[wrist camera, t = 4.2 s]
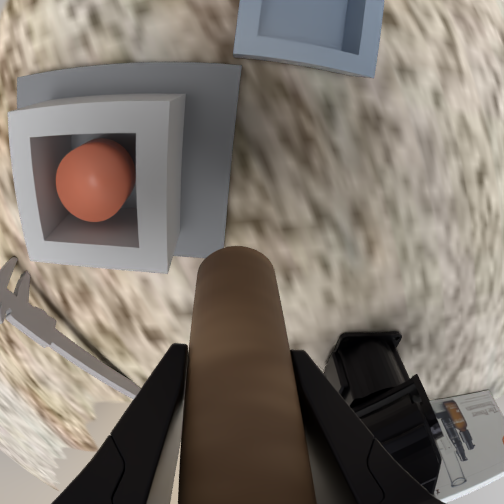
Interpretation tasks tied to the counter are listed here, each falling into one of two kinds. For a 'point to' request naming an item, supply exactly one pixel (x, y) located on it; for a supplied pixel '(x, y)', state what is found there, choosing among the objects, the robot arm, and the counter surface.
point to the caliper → (52, 331)
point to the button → (95, 179)
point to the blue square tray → (312, 33)
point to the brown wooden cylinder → (241, 391)
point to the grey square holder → (141, 151)
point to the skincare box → (468, 444)
